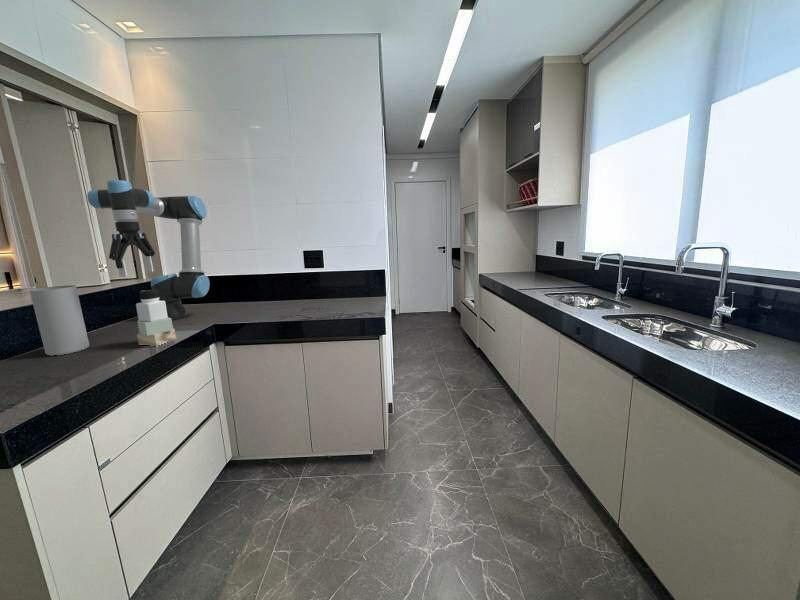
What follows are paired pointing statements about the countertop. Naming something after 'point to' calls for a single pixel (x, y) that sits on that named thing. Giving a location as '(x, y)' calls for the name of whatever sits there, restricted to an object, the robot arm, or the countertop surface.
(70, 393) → the countertop surface
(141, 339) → the lower block
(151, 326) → the upper block
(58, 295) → the cylinder vase
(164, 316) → the medicine bottle
